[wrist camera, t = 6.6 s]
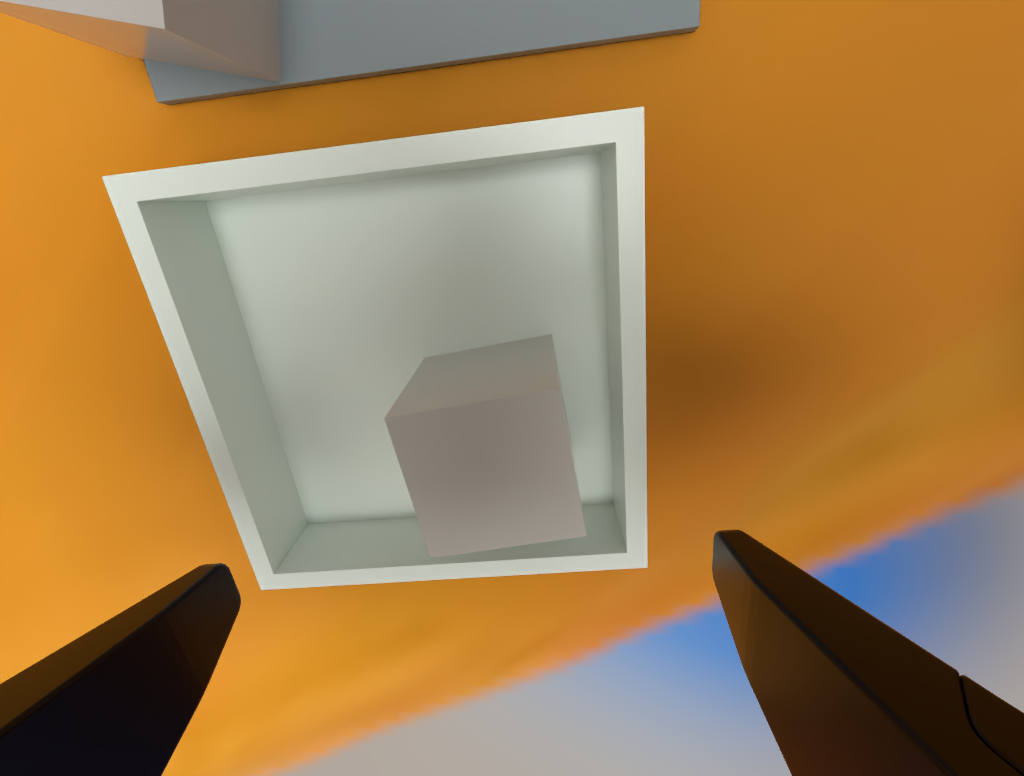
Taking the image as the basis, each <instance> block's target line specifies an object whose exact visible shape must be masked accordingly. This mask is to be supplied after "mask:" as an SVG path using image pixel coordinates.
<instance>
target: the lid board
mask: <svg viewBox="0 0 1024 776" xmlns="http://www.w3.org/2000/svg"><path fill="white" fill-rule="evenodd" d="M699 26H700V0H279V37H280V81H281V83H280V82H274V81H268V80H263V79H257V78H251V77H245V76H239V75H233V74H227V73H221V72H215V71H210V70H204V69H198V68H192V67H186V66H180V65H174V64H168V63H162V62H157V61H151V60H145V59H143V60H144V63H145V66H146V69H147V72H148V75H149V79H150V82H151V85H152V88H153V91H154V94H155V97H156V100H157V102H159V103H162V104H166V105H171V104H178V103H185V102H192V101H200V100H207V99H214V98H221V97H228V96H235V95H243V94H250V93H257V92H264V91H271V90H278V89H286V88H293V87H300V86H307V85H314V84H321V83H329V82H336V81H343V80H350V79H357V78H364V77H372V76H379V75H386V74H393V73H400V72H407V71H415V70H422V69H429V68H436V67H443V66H450V65H458V64H465V63H472V62H479V61H486V60H493V59H501V58H508V57H515V56H522V55H529V54H536V53H544V52H551V51H558V50H565V49H572V48H579V47H587V46H594V45H601V44H608V43H615V42H622V41H630V40H637V39H644V38H651V37H658V36H665V35H673V34H680V33H687V32H694V31H695V30H696V29H697V28H698V27H699Z"/></svg>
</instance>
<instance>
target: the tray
mask: <svg viewBox="0 0 1024 776" xmlns="http://www.w3.org/2000/svg"><path fill="white" fill-rule="evenodd" d="M102 178H103V181H104V184H105V186H106V189H107V191H108V194H109V197H110V199H111V202H112V204H113V207H114V210H115V212H116V215H117V217H118V220H119V222H120V225H121V228H122V230H123V233H124V235H125V238H126V241H127V243H128V246H129V248H130V251H131V254H132V256H133V259H134V261H135V264H136V267H137V269H138V272H139V274H140V277H141V280H142V282H143V285H144V287H145V290H146V293H147V295H148V298H149V300H150V303H151V306H152V308H153V311H154V313H155V316H156V319H157V321H158V324H159V326H160V329H161V332H162V334H163V337H164V339H165V342H166V344H167V347H168V350H169V352H170V355H171V357H172V360H173V363H174V365H175V368H176V370H177V373H178V376H179V378H180V381H181V383H182V386H183V389H184V391H185V394H186V396H187V399H188V402H189V404H190V407H191V409H192V412H193V415H194V417H195V420H196V422H197V425H198V428H199V430H200V433H201V435H202V438H203V441H204V443H205V446H206V448H207V451H208V453H209V456H210V459H211V461H212V464H213V466H214V469H215V472H216V474H217V477H218V479H219V482H220V485H221V487H222V490H223V492H224V495H225V498H226V500H227V503H228V505H229V508H230V511H231V513H232V516H233V518H234V521H235V524H236V526H237V529H238V531H239V534H240V537H241V539H242V542H243V544H244V547H245V550H246V552H247V555H248V557H249V560H250V563H251V565H252V568H253V570H254V573H255V575H256V578H257V581H258V583H259V586H260V588H261V590H270V589H288V588H305V587H322V586H339V585H356V584H374V583H391V582H408V581H425V580H442V579H460V578H477V577H494V576H511V575H528V574H546V573H563V572H580V571H597V570H614V569H632V568H648V567H647V433H646V298H645V164H644V107H637V108H629V109H621V110H614V111H606V112H598V113H590V114H583V115H575V116H567V117H559V118H552V119H544V120H536V121H528V122H521V123H513V124H505V125H497V126H490V127H482V128H474V129H466V130H459V131H451V132H443V133H435V134H428V135H420V136H412V137H404V138H397V139H389V140H381V141H373V142H366V143H358V144H350V145H342V146H335V147H327V148H319V149H311V150H304V151H296V152H288V153H280V154H273V155H265V156H257V157H249V158H242V159H234V160H226V161H218V162H211V163H203V164H195V165H187V166H180V167H172V168H164V169H156V170H149V171H141V172H133V173H125V174H118V175H110V176H102ZM549 334H552V338H553V344H554V350H555V355H556V361H557V366H558V372H559V377H560V383H561V388H562V394H563V400H564V405H565V411H566V416H567V422H568V427H569V433H570V438H571V444H572V450H573V456H574V462H575V468H576V474H577V480H578V486H579V492H580V498H581V505H582V511H583V517H584V523H585V529H586V535H587V536H584V537H577V538H570V539H563V540H556V541H548V542H541V543H534V544H527V545H520V546H513V547H506V548H499V549H492V550H484V551H477V552H470V553H463V554H456V555H449V556H442V557H435V558H430V555H429V552H428V549H427V546H426V543H425V540H424V537H423V534H422V531H421V528H420V525H419V522H418V519H417V516H416V513H415V510H414V507H413V504H412V501H411V498H410V495H409V492H408V489H407V486H406V483H405V480H404V477H403V474H402V471H401V468H400V465H399V462H398V459H397V456H396V453H395V450H394V447H393V444H392V441H391V438H390V435H389V432H388V428H387V425H386V422H385V419H384V418H385V416H386V415H387V413H388V412H389V410H390V409H391V407H392V406H393V404H394V403H395V401H396V400H397V398H398V397H399V395H400V394H401V392H402V391H403V389H404V388H405V386H406V385H407V383H408V382H409V380H410V379H411V377H412V376H413V374H414V373H415V371H416V370H417V368H418V367H419V365H420V364H421V362H422V361H423V359H424V358H427V357H432V356H437V355H443V354H448V353H453V352H459V351H464V350H469V349H475V348H480V347H485V346H491V345H496V344H501V343H506V342H512V341H517V340H522V339H528V338H533V337H538V336H544V335H549Z"/></svg>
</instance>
